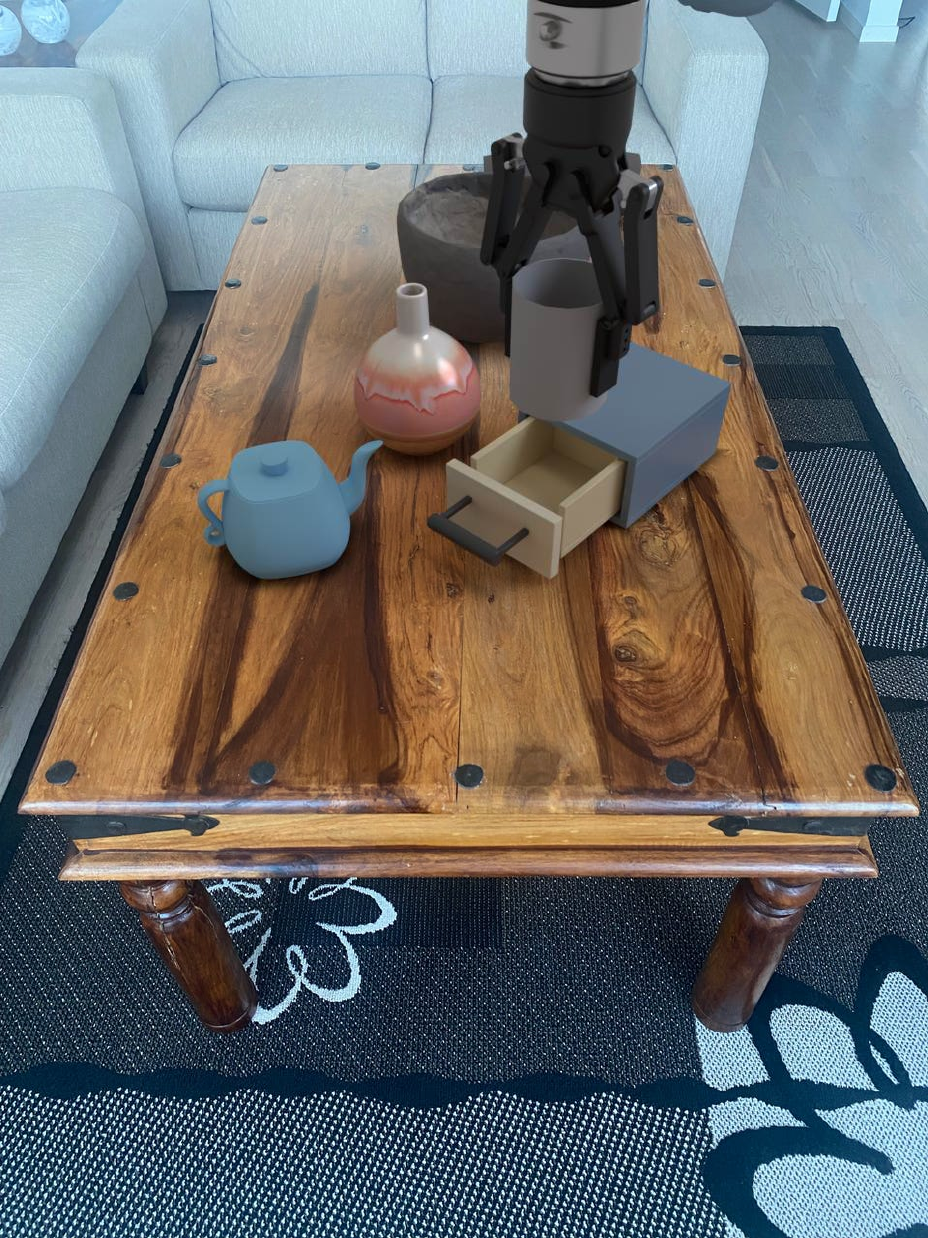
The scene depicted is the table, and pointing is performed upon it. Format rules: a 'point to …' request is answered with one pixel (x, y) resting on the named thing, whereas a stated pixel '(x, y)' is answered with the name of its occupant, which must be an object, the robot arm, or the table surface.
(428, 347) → the vase
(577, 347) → the cup
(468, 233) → the bowl
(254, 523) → the teapot
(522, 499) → the open pull-out drawer
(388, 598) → the table surface
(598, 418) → the cabinet
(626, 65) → the robot arm
